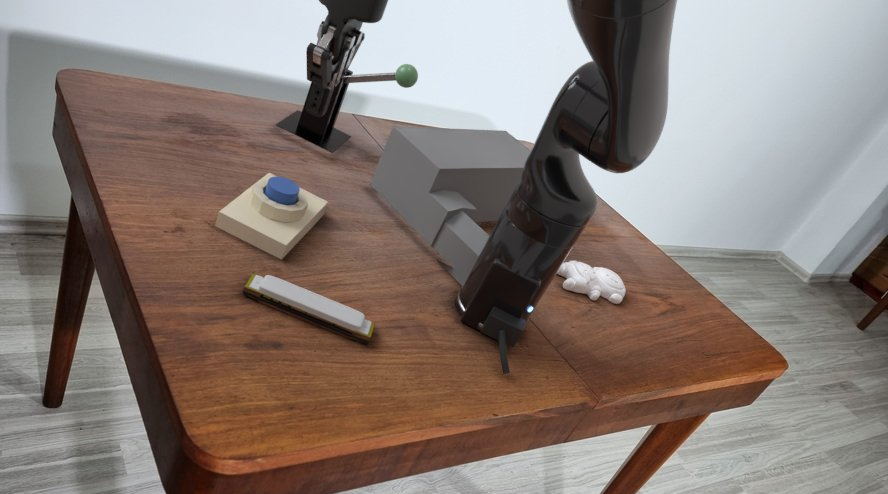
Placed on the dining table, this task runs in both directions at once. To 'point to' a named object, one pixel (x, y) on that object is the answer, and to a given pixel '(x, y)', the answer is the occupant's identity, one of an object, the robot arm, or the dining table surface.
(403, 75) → the green lever
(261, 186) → the switch box
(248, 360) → the dining table surface
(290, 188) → the blue button
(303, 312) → the harmonica
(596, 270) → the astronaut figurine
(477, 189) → the gray stepped block
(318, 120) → the lever bracket
